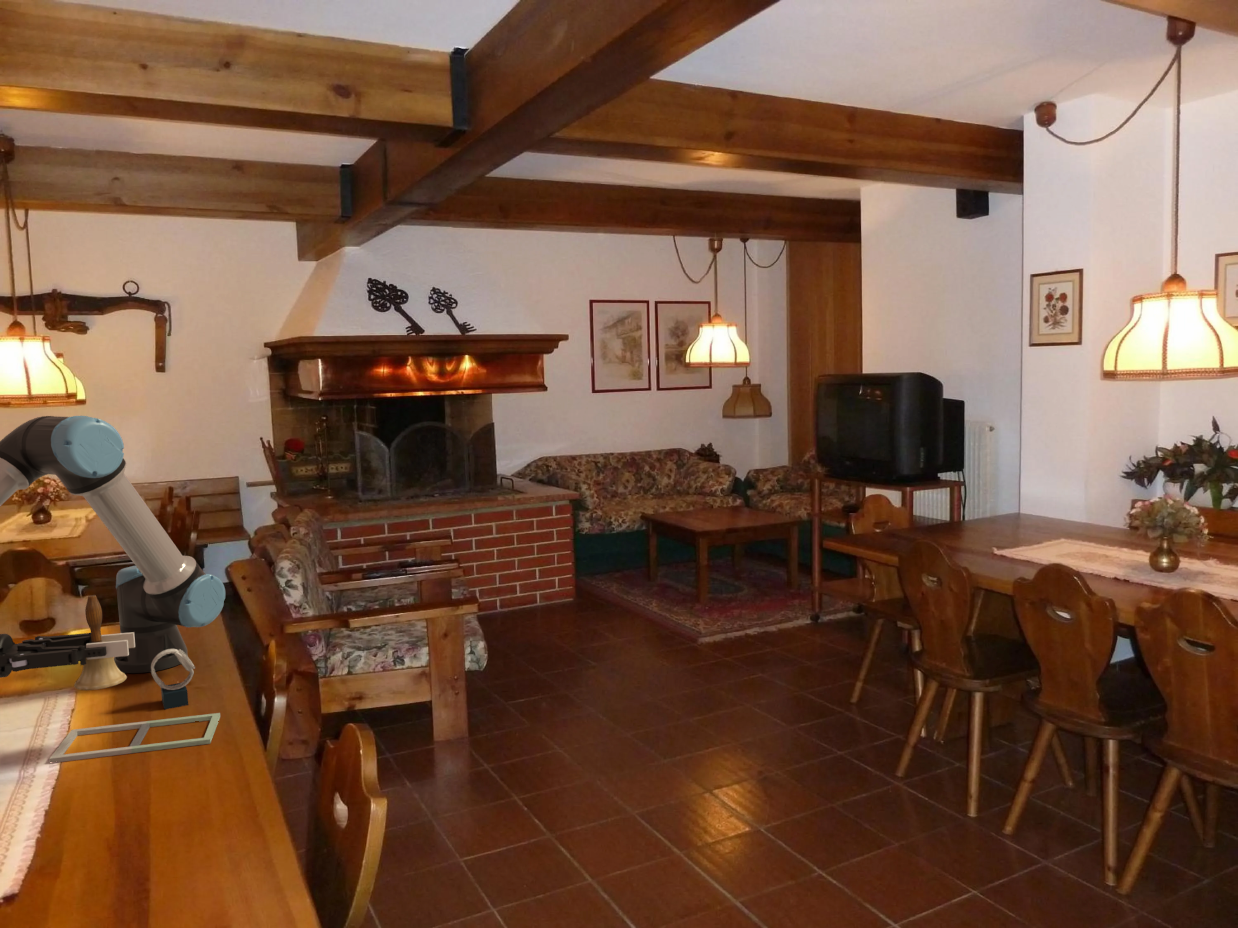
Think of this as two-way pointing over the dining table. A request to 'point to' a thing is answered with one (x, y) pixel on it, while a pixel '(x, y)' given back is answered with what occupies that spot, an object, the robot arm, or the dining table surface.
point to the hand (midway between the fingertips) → (130, 643)
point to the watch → (175, 692)
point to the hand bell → (101, 669)
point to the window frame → (136, 742)
